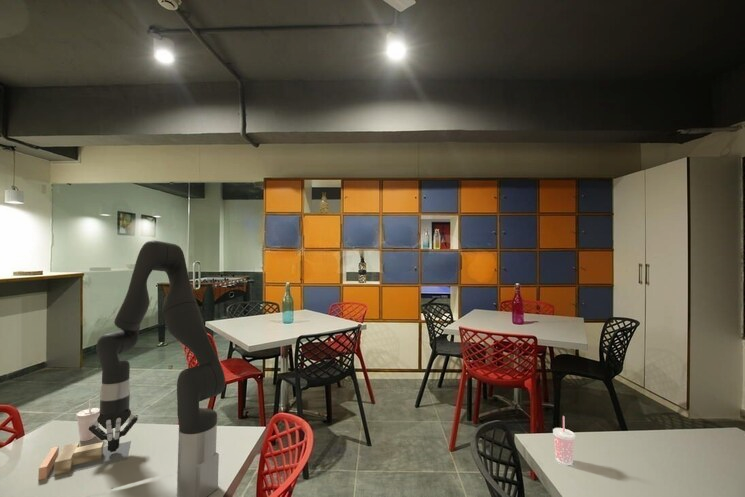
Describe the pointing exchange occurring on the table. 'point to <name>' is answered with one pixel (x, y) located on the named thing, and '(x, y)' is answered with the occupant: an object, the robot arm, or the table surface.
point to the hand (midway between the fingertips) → (113, 450)
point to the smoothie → (87, 422)
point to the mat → (105, 459)
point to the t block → (76, 456)
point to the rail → (48, 463)
